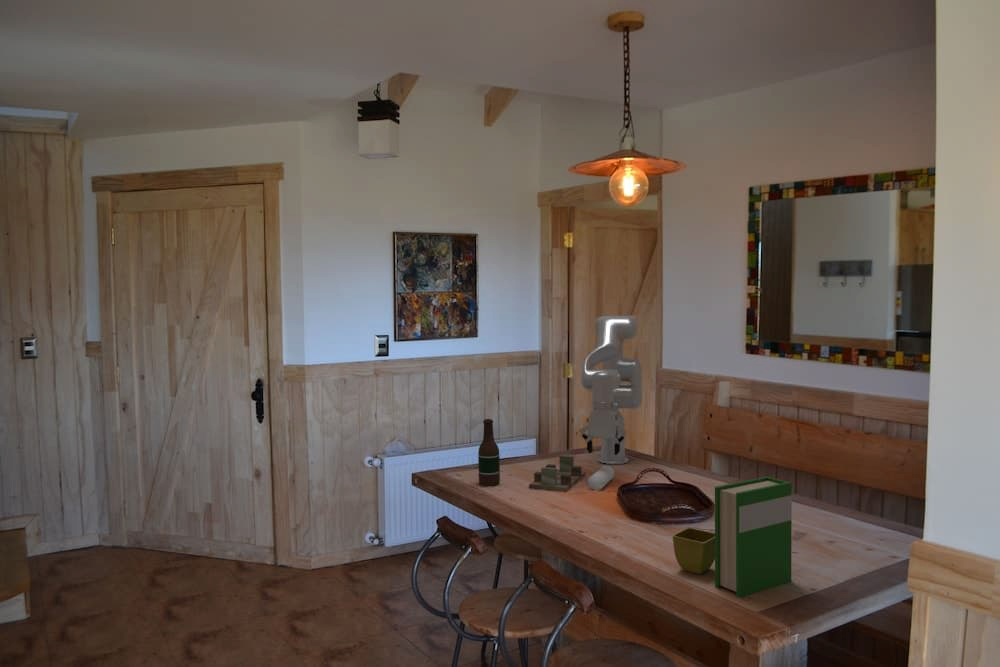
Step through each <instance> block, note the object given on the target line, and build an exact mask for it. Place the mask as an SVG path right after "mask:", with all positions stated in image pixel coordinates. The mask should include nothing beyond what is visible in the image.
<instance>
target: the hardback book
mask: <svg viewBox="0 0 1000 667" xmlns="http://www.w3.org/2000/svg"><path fill="white" fill-rule="evenodd" d="M792 485H793V484H792V482H790V481H786V480H783V479H778V478H773V477H771V476H763V477H757V478H753V479H749V480H743V481H737V482H732V483H727V484H722V485H719V486H714V533H715V560H714V587H715V588H716V589H721V588H726V589H728V590H730V591H732V592H735V596H736V597H737V598H739V599H740V598H742V597H743V598H744V597H746V596H750V595H753V594H756V593H759V592H762V591H766V590H768V589H773V588H775V587H779V586H783V585H785V584H789V583H792V523H793V522H792V516H793V514H792V508H793V507H792V501H793V500H792V494H793V493H792V490H793V489H792Z"/></svg>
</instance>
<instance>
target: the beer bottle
mask: <svg viewBox="0 0 1000 667" xmlns="http://www.w3.org/2000/svg"><path fill="white" fill-rule="evenodd" d="M482 423H483V438H482V441H481V443H480V445H479V448H478V453H477V454H478V458H477V459H478V460H477V462H478V484H479V485H480V484H481V485H484V486H483V487H487V486H491V487H496V486H495V485H497V486H498V484H499V485H500V481H501V474H500V473H501V472H500V471H501V470H500V467H501V466H500V464H501V463H500V457H501V456H500V450H499V446H498V444H497V443H496V441H495V436H494V435H495V434H494V424H493V423H494V420H493V419H492V418H486V419H483V421H482ZM481 485H480V486H481Z"/></svg>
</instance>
